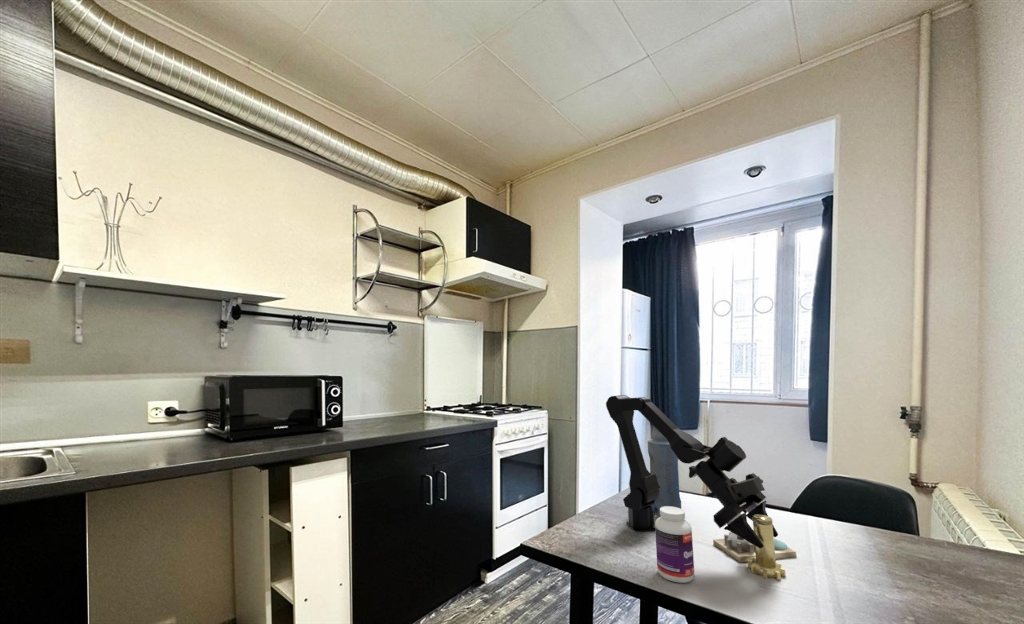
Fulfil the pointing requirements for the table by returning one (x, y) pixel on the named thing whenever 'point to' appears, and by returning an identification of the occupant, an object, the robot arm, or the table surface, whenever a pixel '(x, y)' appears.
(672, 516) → the pill bottle
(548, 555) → the table surface
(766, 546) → the gear
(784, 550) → the gear board
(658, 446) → the bottle
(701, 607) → the table surface
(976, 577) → the table surface
